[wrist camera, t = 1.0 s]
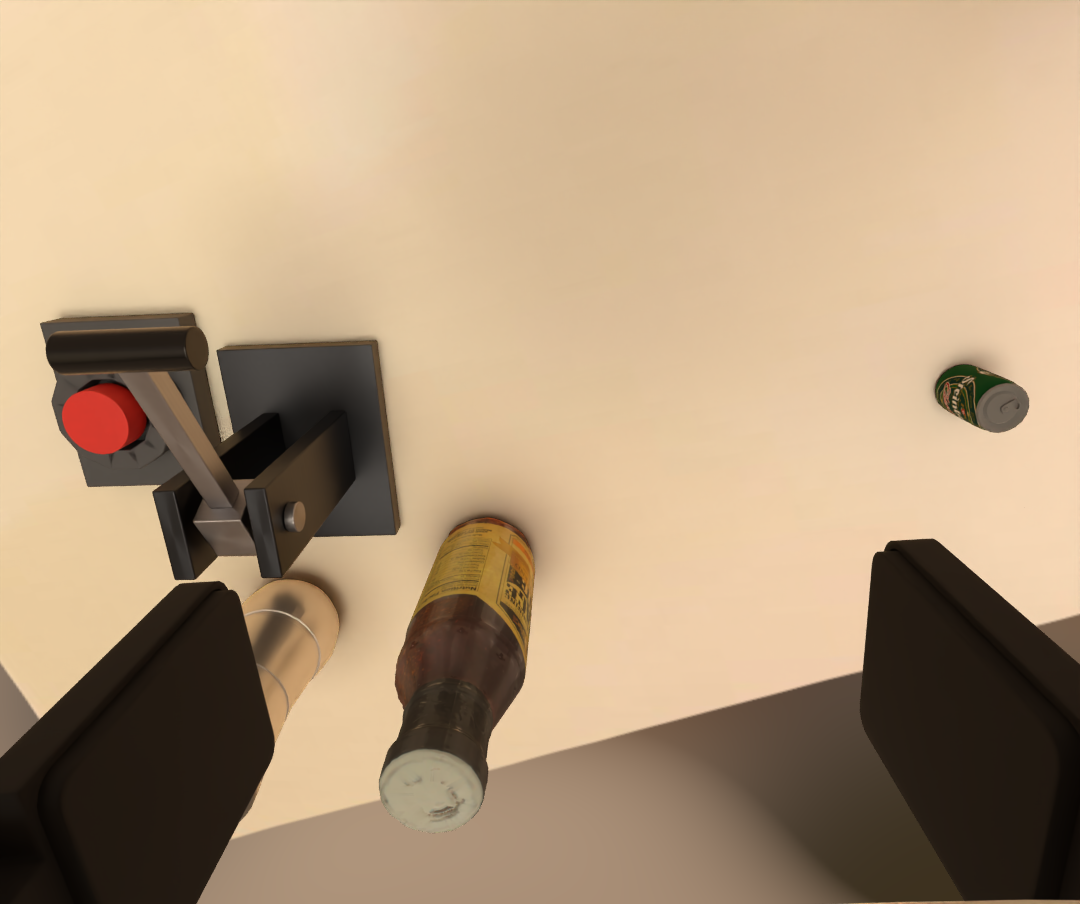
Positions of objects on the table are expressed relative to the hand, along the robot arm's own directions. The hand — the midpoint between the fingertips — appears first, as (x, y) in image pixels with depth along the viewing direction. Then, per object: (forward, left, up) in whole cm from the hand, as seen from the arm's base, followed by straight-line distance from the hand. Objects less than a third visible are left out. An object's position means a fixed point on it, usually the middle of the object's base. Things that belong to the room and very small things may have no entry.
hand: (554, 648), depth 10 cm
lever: (+2, -15, -19) cm, 24 cm away
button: (+4, -25, -28) cm, 38 cm away
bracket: (+7, -15, -31) cm, 35 cm away
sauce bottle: (+15, -5, -31) cm, 35 cm away
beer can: (+5, +23, -31) cm, 39 cm away
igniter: (+4, -25, -31) cm, 40 cm away
